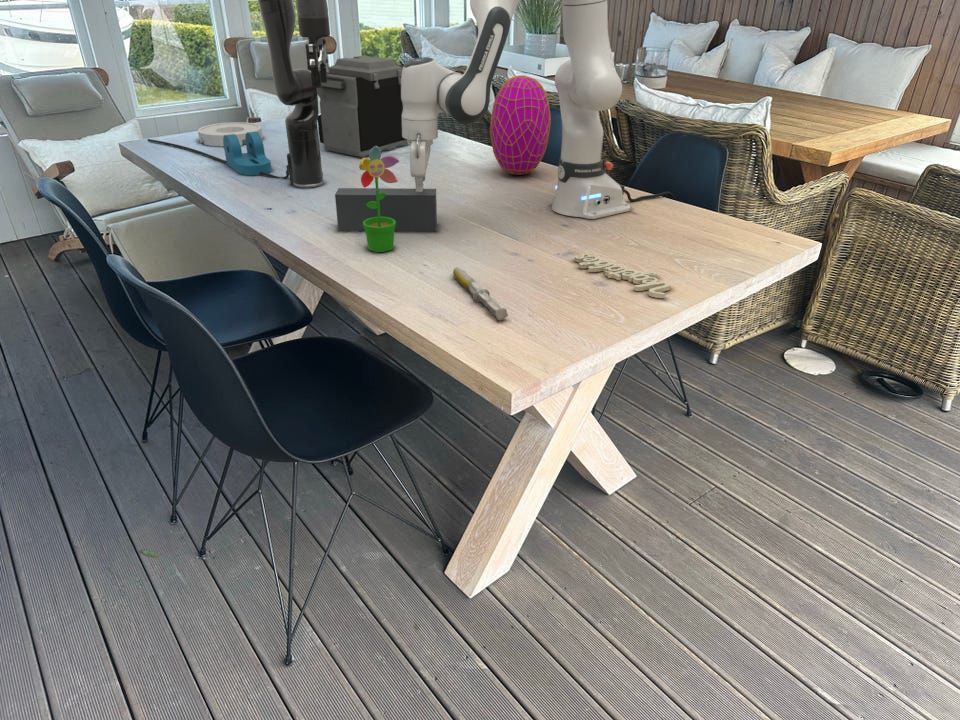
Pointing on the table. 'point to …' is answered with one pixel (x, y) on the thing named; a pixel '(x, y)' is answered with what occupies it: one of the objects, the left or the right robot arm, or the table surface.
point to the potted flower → (378, 227)
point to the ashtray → (226, 132)
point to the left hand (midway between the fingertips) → (320, 85)
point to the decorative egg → (520, 125)
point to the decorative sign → (625, 274)
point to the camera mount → (246, 154)
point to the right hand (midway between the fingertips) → (420, 185)
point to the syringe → (479, 293)
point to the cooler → (361, 106)
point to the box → (387, 208)
